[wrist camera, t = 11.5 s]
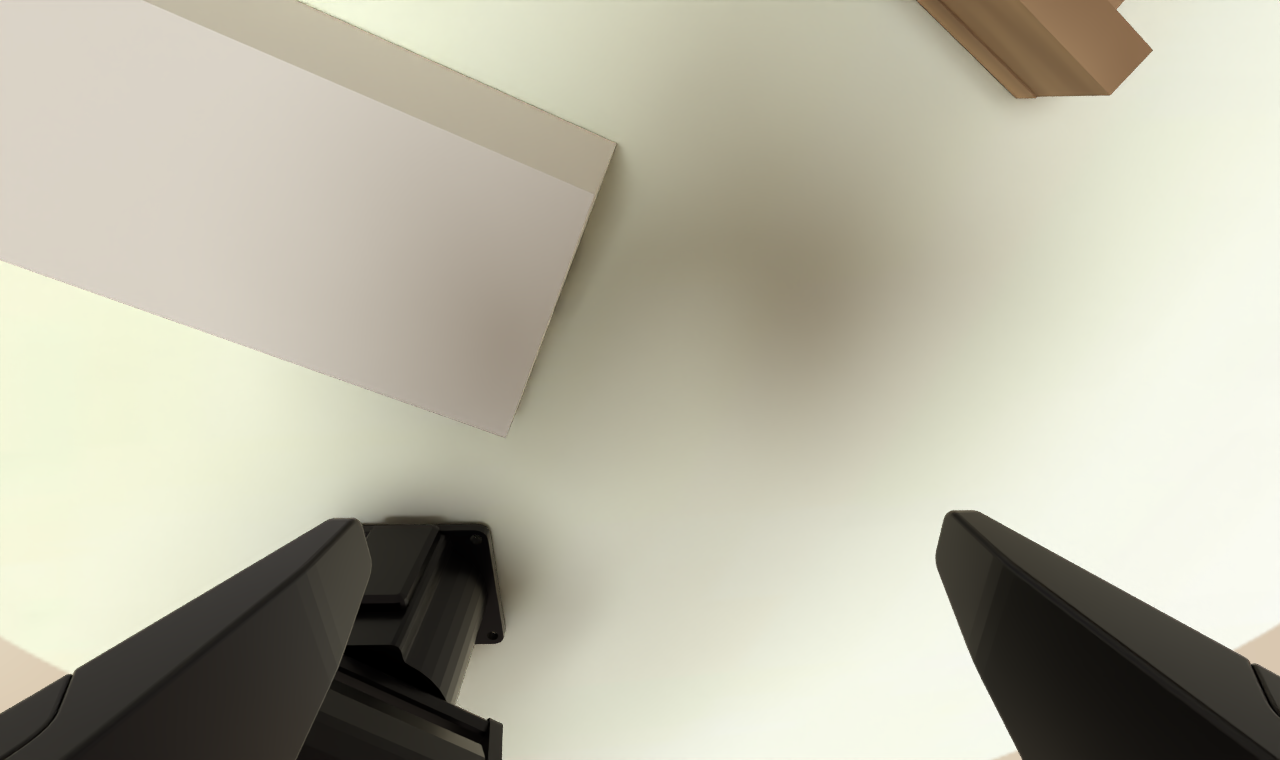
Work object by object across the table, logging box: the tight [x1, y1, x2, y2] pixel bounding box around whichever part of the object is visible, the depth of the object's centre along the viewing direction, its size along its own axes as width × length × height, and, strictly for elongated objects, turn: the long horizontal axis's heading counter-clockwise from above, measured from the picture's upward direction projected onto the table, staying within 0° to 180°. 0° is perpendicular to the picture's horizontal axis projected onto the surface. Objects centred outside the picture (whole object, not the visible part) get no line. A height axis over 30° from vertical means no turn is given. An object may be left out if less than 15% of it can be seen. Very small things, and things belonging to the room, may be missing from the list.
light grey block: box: [0, 0, 617, 438], centre depth 18 cm, size 34×5×10 cm
